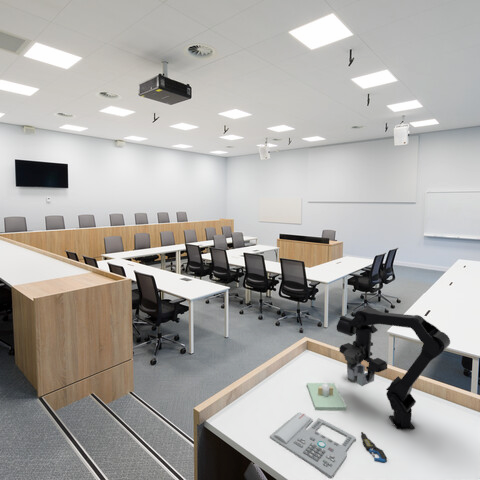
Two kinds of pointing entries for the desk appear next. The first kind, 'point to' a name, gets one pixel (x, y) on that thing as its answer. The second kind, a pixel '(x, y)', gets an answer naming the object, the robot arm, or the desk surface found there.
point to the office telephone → (313, 443)
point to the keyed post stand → (325, 396)
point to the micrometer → (373, 449)
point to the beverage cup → (347, 372)
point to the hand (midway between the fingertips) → (360, 376)
